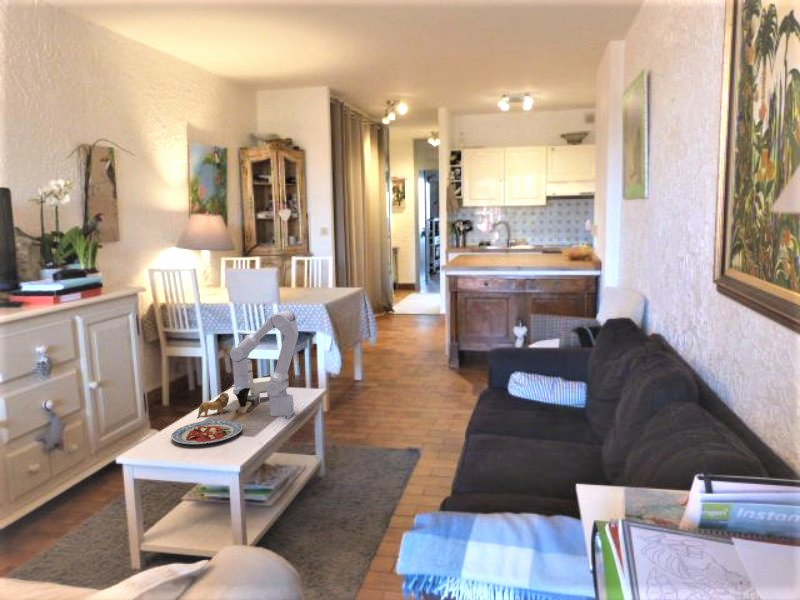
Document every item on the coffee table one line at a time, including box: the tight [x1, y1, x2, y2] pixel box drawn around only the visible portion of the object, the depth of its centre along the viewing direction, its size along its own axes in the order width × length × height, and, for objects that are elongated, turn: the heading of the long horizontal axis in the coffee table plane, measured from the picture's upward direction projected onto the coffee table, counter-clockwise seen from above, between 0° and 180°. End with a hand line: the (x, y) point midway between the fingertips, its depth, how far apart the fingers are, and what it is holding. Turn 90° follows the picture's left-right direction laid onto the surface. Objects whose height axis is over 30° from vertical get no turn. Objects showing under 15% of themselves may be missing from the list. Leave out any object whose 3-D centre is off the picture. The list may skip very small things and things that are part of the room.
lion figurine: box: [196, 392, 230, 419], centre depth 258 cm, size 15×5×9 cm, turn 133°
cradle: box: [223, 395, 263, 422], centre depth 261 cm, size 9×22×4 cm, turn 174°
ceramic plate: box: [170, 419, 243, 445], centre depth 235 cm, size 26×26×3 cm
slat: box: [237, 401, 253, 414], centre depth 264 cm, size 3×12×2 cm, turn 174°
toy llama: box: [247, 357, 272, 404], centre depth 276 cm, size 8×18×20 cm, turn 115°
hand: (243, 406), depth 260 cm, fingers closed
